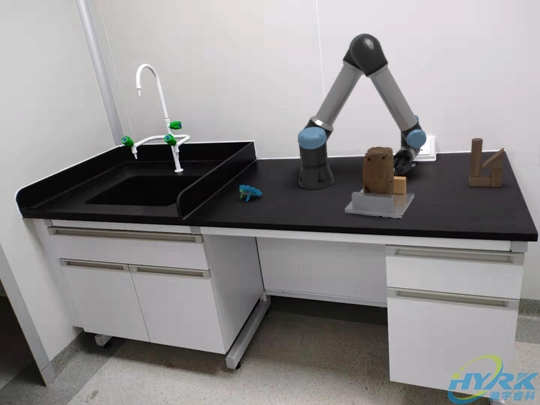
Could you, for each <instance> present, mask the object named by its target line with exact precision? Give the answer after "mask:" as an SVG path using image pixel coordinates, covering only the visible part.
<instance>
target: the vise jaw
mask: <svg viewBox="0 0 540 405" xmlns="http://www.w3.org/2000/svg"><path fill="white" fill-rule="evenodd" d="M394 193H397V194H405V193H407V177H406V176H396V177H395V176H394Z"/></svg>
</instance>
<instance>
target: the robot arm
mask: <svg viewBox="0 0 540 405" xmlns="http://www.w3.org/2000/svg"><path fill="white" fill-rule="evenodd" d="M342 64H343V66H342V67H341V70H340V71H339V73H338V74H337V77H336V78H335V79H334V82H333V84H332V85H331V87H330V89H329V91H328V93H327V94H326V96H325V98H324V100H323V101H322V103H321V105H320V106H319V109H318V110H317V112H316V115H313V116H311V117H310V118H309V120H308V122H307V124H306V125H305V126H304V127H303V129H301V130H300V131H299V133H298V134H297V143H298V148H299V157H300V158H299V159H300V164H301V165H300V173H299V177H298V185H299V186H300V188H303V189H306V190H318V189H319V190H320V189H324V188H327V187H330V186H331V185H333V184H334V182H335V180H334V178H335V177H334V174H333V173H332V170H331V168H330V166H329V158H328V144H327V143H328V140H329V139H330V137H331V135H332V134H333V132H334V126H333V125H334V123H335V122H336V120H337V118H338V116H339V115H340V113H341V112H342V109H343V108H344V106H345V104H346V103H347V101H348V100H349V97H350V96H351V94H352V92H353V90H354V88H355V87H356V85H357V84H358V82H359V80H360V78H361V77H362V76H365V77H366V78H369V79H370V81H371V82H372V85H373V86H374V88H375V90H376V91H377V93H378V95H379V96H380V98H381V99H382V102H383V104H385V107H386V109H388V111H389V114H390V115H391V117H392V119H393V121H394V122H395V124H396V125H397V127H398V129H399V131H400V148H399V150H398V151H397V152H396V153H395V155H393V161H394V176H395V177H398V175H402V176H403V175H405V174H406V173H408V172H409V171H410V170H412V169H414V168H416V161H415V159H416V157H418V155H419V154H420V152H421V148H422V147H423V146H424V145H425V144H426V142H427V138H428V136H427V134H426V133H425V131H424V130H423V129H422V126H421V125H420V121H419V120H420V119H419V115H417V114H415V113H414V112H413V110H412V108H411V107H410V104H409V103H408V101H407V100H406V98H405V96H404V94H403V92H402V90H401V88H400V87H399V86H398V83H397V82H396V81H397V80H395V77H394V76H393V74H392V73H391V71H390V69H389V66H388V65H389V62H388V60H387V57H386V55H385V53H384V49H383V48H382V45H381V42H380V40H379V39H378V38H377V37H375V36H374V35H373V34H370V33H360V34H357V35H356V36H355V37H353V39H352V40H351V41H350V43H349V46H348V49H347V51H346V53H345V55H344V56H343V58H342Z"/></svg>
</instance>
